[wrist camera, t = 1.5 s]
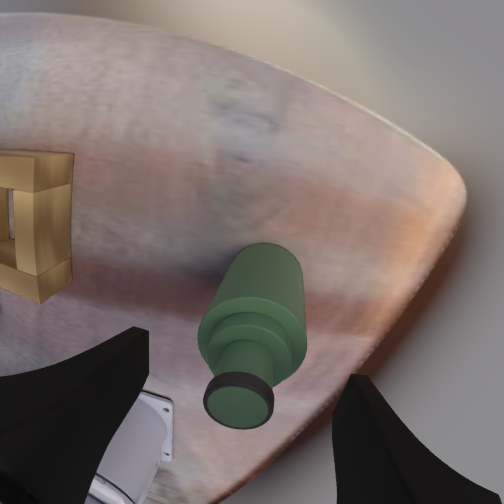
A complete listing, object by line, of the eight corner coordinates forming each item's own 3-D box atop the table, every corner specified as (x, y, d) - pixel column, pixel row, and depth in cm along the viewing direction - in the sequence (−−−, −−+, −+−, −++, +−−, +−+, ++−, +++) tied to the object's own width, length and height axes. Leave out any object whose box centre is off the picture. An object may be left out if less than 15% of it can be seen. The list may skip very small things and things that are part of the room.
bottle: (293, 317, 19) (289, 457, 10) (224, 303, 20) (168, 431, 10) (310, 251, 18) (328, 369, 8) (234, 236, 18) (171, 336, 8)
